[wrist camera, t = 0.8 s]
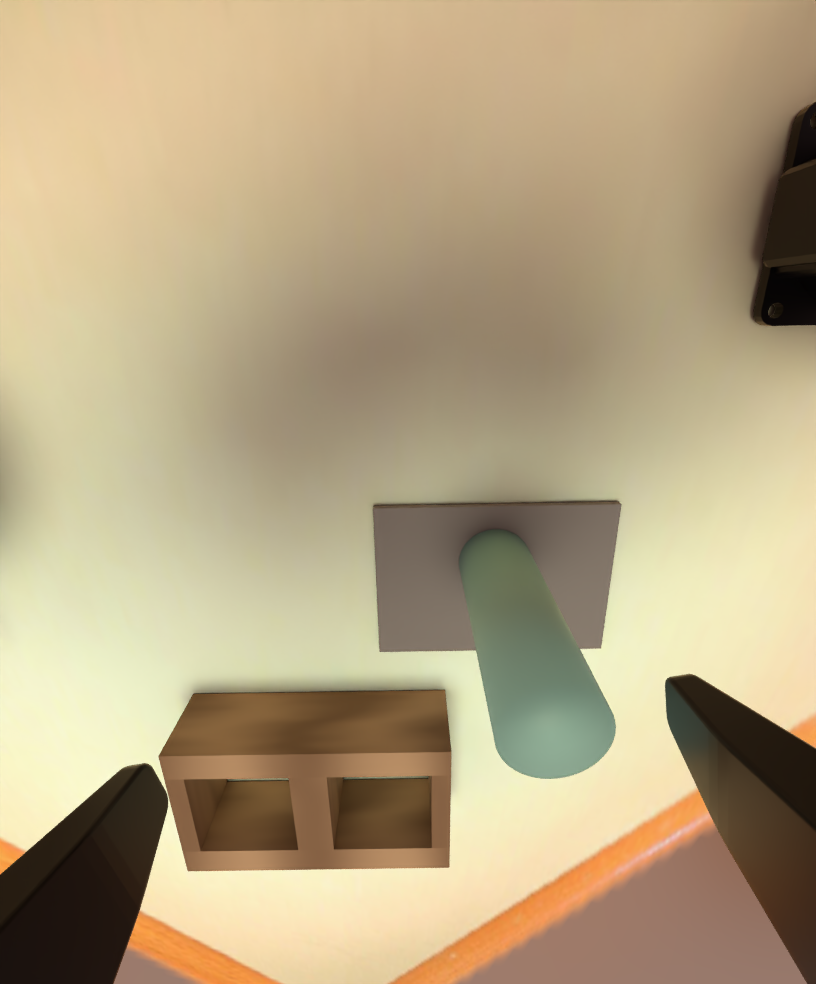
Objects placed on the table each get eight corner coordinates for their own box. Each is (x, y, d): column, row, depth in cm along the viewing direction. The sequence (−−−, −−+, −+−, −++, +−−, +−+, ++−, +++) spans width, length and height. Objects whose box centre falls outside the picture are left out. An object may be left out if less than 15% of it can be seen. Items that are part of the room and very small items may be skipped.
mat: (618, 501, 20) (621, 504, 20) (598, 644, 22) (600, 648, 22) (373, 505, 20) (373, 508, 20) (379, 647, 23) (379, 651, 22)
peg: (532, 528, 20) (623, 685, 12) (527, 591, 21) (607, 778, 13) (459, 529, 20) (497, 687, 12) (458, 593, 21) (491, 779, 13)
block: (444, 690, 23) (451, 752, 20) (443, 796, 26) (449, 867, 23) (193, 693, 23) (158, 756, 20) (215, 800, 26) (187, 871, 23)
